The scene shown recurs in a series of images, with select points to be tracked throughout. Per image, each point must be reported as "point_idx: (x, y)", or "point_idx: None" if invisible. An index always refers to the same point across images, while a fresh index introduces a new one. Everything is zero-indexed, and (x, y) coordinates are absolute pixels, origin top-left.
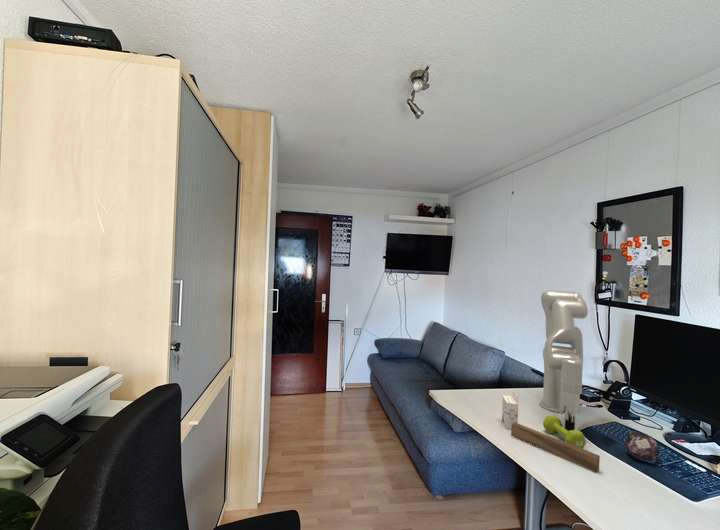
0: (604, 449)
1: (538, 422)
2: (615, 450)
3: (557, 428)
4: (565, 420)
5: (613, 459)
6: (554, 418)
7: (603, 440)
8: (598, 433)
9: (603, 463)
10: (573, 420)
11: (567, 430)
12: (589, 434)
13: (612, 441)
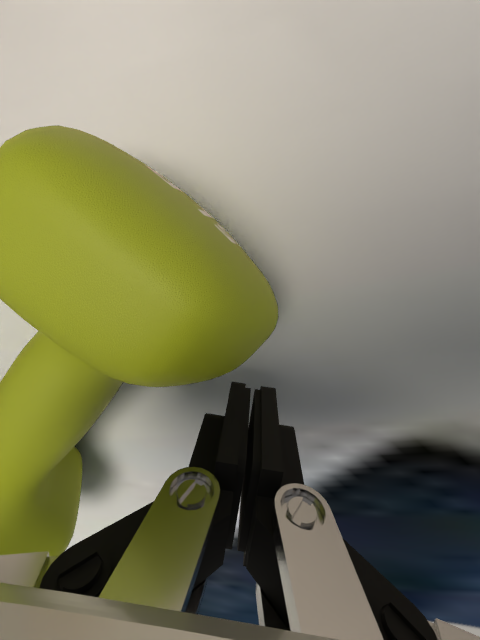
0: None
1: (353, 37)
2: (249, 613)
3: (20, 352)
4: (170, 479)
5: None
6: (37, 324)
7: None
8: (474, 549)
9: None
10: (255, 580)
11: (28, 464)
12: (401, 503)
13: None
